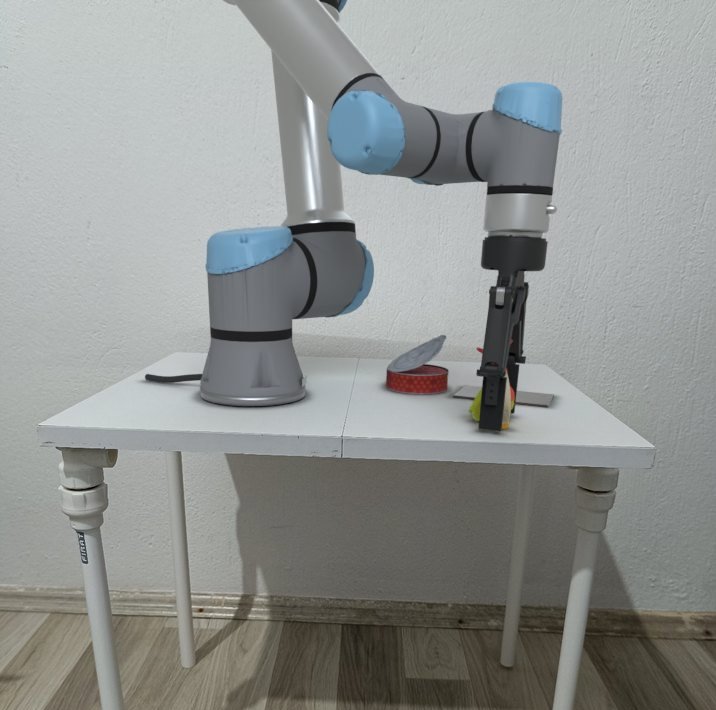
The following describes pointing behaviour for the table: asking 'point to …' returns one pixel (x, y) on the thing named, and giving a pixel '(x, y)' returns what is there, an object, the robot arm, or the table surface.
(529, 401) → the flat grey rectangular slab
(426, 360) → the canned food
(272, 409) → the table surface
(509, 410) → the bird rattle
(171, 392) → the table surface
